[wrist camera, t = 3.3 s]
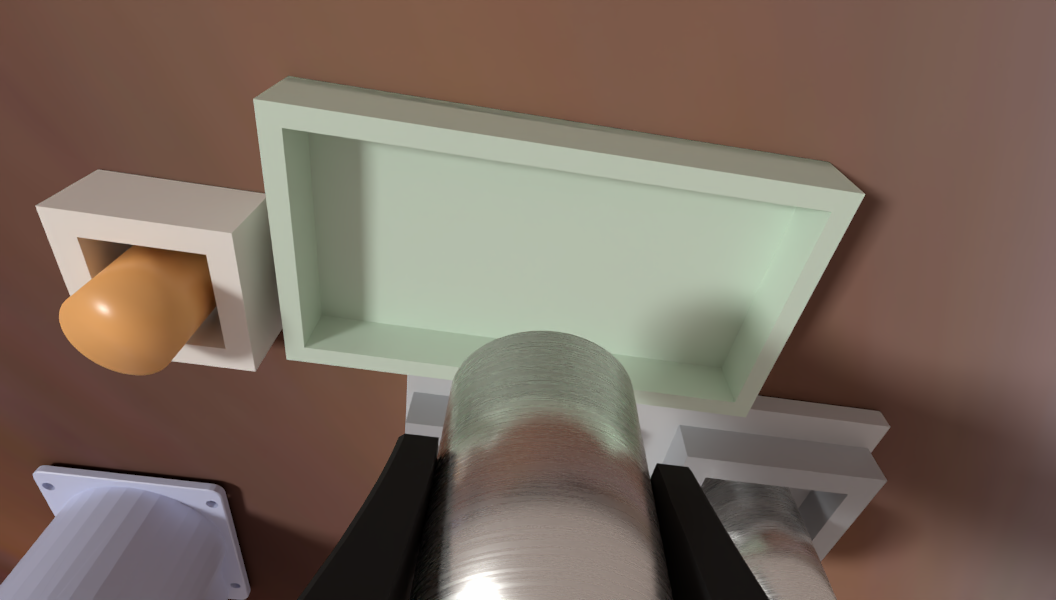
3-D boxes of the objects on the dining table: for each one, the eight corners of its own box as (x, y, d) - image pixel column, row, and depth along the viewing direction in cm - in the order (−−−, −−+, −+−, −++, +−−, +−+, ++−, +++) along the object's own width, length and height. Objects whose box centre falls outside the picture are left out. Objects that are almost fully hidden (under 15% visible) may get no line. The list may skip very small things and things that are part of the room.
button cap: (232, 317, 18) (182, 381, 16) (142, 305, 18) (77, 368, 15) (217, 241, 16) (160, 299, 14) (119, 227, 16) (43, 284, 14)
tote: (728, 373, 21) (745, 417, 19) (310, 318, 20) (286, 359, 18) (829, 162, 16) (865, 194, 14) (288, 76, 15) (253, 98, 13)
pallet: (776, 554, 27) (793, 602, 25) (405, 513, 26) (394, 560, 24) (879, 411, 22) (912, 459, 20) (412, 350, 20) (398, 395, 19)
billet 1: (608, 473, 13) (648, 812, 8) (443, 451, 13) (379, 791, 8) (656, 346, 11) (751, 705, 6) (458, 317, 11) (385, 669, 6)
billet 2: (766, 529, 25) (823, 688, 20) (678, 518, 25) (713, 678, 19) (804, 471, 23) (881, 635, 17) (708, 460, 22) (757, 623, 17)
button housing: (285, 323, 20) (255, 371, 18) (139, 304, 20) (91, 351, 17) (269, 194, 17) (231, 233, 15) (98, 169, 17) (35, 206, 15)
